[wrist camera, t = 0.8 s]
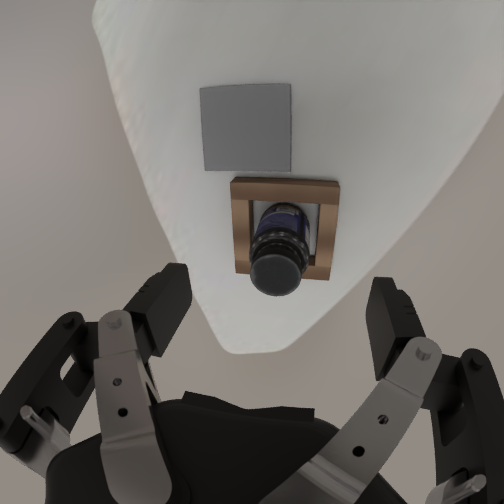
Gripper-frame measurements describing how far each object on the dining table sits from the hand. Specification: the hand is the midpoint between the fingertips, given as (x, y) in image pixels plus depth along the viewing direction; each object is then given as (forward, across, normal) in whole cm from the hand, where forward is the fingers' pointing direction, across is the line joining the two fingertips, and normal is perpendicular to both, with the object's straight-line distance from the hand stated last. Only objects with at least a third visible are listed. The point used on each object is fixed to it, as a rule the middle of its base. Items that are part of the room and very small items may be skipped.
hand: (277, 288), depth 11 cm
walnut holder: (+22, +1, +6) cm, 23 cm away
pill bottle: (+23, +1, +6) cm, 23 cm away
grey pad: (+22, +6, -6) cm, 23 cm away
